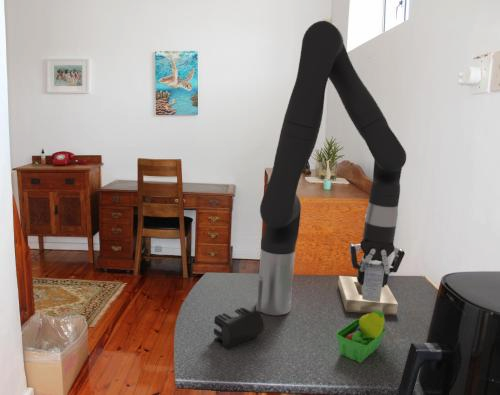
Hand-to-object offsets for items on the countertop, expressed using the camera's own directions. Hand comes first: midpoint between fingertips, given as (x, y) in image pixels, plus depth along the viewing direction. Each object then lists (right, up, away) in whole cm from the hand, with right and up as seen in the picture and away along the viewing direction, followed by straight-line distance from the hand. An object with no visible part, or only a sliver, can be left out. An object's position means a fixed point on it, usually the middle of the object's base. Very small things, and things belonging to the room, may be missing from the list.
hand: (371, 284), depth 118 cm
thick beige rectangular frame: (+3, -8, +18) cm, 19 cm away
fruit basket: (-5, -14, -11) cm, 19 cm away
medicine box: (0, -3, +1) cm, 3 cm away
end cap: (-34, -12, -9) cm, 37 cm away
